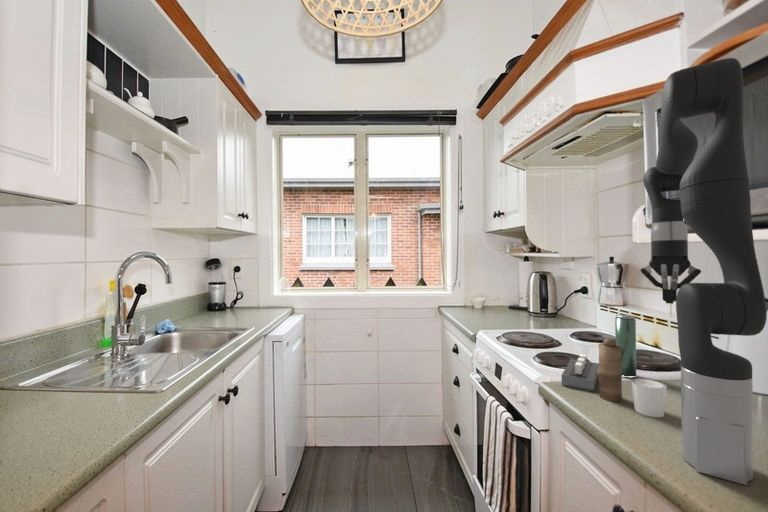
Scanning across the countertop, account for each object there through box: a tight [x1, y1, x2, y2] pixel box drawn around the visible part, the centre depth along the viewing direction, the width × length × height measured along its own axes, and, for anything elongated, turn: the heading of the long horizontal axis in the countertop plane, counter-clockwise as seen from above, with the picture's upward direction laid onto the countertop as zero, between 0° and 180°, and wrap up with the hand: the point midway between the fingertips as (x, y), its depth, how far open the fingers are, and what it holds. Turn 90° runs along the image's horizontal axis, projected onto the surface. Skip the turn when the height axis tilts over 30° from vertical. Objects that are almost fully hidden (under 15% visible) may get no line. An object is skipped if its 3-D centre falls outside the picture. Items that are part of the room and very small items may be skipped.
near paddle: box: [575, 362, 583, 374], centre depth 99 cm, size 3×2×3 cm, turn 143°
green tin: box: [614, 314, 637, 377], centre depth 105 cm, size 5×5×19 cm
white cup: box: [630, 378, 668, 418], centre depth 81 cm, size 7×7×7 cm
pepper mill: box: [598, 337, 623, 403], centre depth 89 cm, size 5×5×16 cm
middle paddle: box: [576, 357, 585, 370], centre depth 103 cm, size 3×2×3 cm, turn 143°
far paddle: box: [579, 353, 588, 365], centre depth 107 cm, size 3×2×3 cm, turn 143°
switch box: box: [561, 358, 599, 392], centre depth 103 cm, size 18×8×3 cm, turn 143°
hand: (669, 303), depth 90 cm, fingers closed
